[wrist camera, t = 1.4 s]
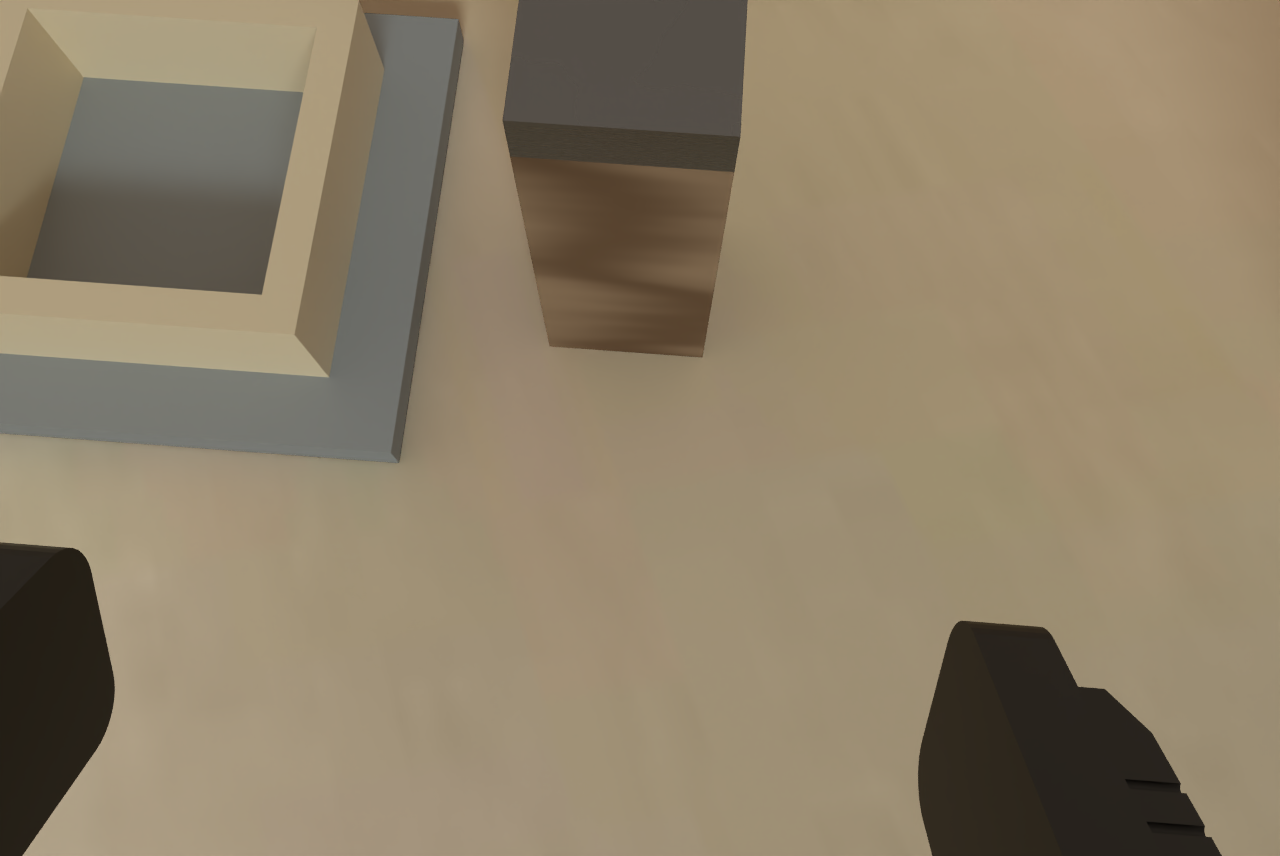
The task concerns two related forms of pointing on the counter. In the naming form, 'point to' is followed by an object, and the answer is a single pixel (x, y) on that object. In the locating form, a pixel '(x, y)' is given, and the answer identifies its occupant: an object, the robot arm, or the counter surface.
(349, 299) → the jig
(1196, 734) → the counter surface
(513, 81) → the tall grey-topped block
